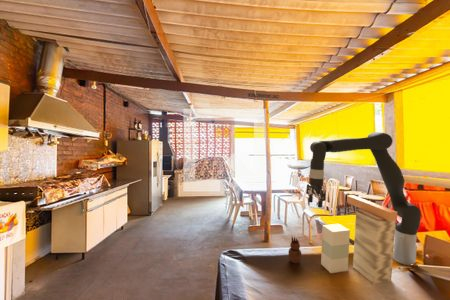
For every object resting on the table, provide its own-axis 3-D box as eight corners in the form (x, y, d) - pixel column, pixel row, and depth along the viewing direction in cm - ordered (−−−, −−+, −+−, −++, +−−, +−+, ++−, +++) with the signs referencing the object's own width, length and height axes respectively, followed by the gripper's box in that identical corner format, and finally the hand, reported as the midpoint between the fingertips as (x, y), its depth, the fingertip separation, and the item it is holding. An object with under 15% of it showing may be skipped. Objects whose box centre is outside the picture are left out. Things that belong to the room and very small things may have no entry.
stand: (368, 264, 121) (372, 207, 118) (391, 280, 108) (395, 217, 105) (352, 267, 118) (356, 209, 115) (373, 283, 106) (378, 218, 103)
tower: (336, 261, 123) (338, 223, 121) (347, 270, 116) (349, 230, 113) (321, 263, 121) (322, 225, 119) (330, 273, 113) (332, 232, 111)
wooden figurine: (287, 262, 123) (288, 236, 121) (289, 257, 128) (290, 232, 126) (300, 266, 119) (300, 239, 118) (301, 260, 124) (302, 235, 123)
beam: (353, 202, 127) (353, 195, 126) (396, 220, 101) (397, 211, 101) (346, 202, 126) (347, 195, 125) (389, 221, 100) (390, 212, 100)
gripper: (331, 179, 119) (329, 208, 121) (314, 174, 133) (313, 200, 135) (318, 180, 117) (317, 209, 119) (303, 174, 131) (302, 201, 133)
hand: (315, 204), depth 127 cm, fingers open, 8 cm apart
